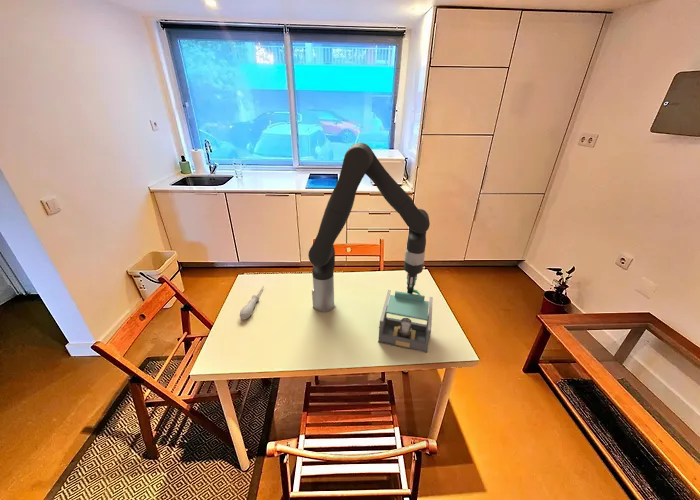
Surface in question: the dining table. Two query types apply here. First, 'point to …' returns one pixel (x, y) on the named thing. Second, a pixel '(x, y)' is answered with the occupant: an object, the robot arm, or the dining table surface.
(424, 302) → the lid
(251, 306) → the screwdriver
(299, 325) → the dining table surface
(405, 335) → the pin
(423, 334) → the housing
